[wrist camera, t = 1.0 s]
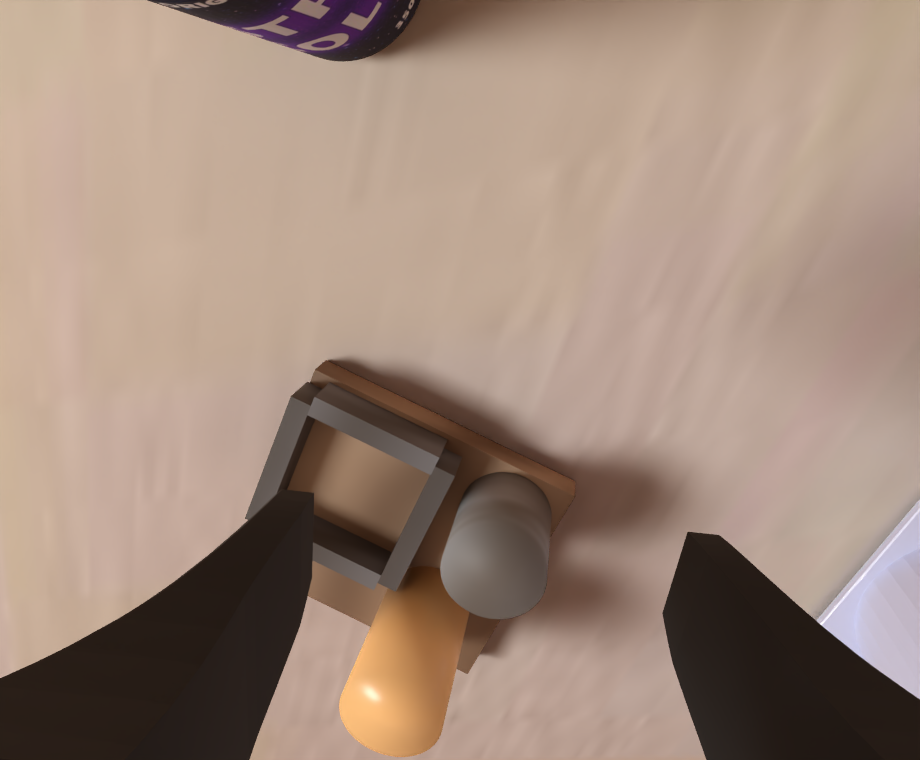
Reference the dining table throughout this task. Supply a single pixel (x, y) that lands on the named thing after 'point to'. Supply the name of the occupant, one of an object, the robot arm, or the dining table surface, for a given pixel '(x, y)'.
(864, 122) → the dining table surface
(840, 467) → the dining table surface
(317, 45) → the beverage can
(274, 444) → the housing
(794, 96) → the dining table surface
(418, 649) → the orange capsule
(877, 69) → the dining table surface
